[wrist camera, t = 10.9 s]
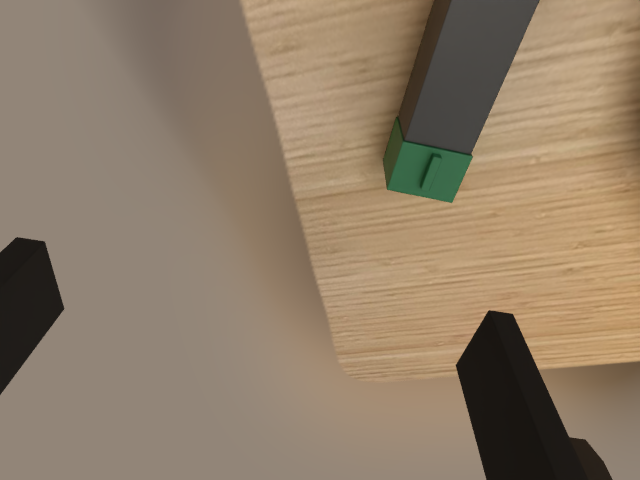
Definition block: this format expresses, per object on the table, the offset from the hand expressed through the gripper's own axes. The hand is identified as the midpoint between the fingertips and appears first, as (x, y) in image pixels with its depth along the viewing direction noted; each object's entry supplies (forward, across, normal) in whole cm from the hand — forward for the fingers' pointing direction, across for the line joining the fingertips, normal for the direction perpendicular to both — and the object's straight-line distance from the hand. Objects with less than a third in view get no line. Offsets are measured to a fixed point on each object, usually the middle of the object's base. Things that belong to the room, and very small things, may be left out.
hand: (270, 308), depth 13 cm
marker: (+20, +9, +4) cm, 22 cm away
